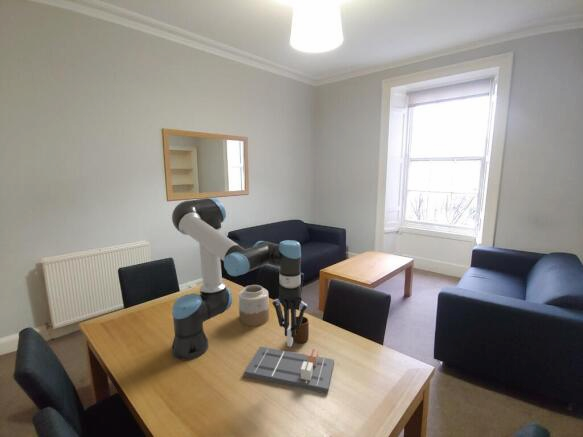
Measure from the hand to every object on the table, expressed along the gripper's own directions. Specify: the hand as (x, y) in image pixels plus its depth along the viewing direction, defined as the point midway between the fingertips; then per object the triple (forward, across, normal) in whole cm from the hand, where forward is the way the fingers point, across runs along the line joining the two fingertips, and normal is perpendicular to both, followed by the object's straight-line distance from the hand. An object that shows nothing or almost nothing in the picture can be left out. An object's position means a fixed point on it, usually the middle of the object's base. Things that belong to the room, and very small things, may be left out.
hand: (290, 343), depth 108 cm
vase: (+15, -30, +36) cm, 49 cm away
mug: (+14, -3, +23) cm, 27 cm away
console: (+14, -1, +4) cm, 15 cm away
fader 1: (+12, +7, 0) cm, 13 cm away
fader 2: (+12, +7, +8) cm, 16 cm away
